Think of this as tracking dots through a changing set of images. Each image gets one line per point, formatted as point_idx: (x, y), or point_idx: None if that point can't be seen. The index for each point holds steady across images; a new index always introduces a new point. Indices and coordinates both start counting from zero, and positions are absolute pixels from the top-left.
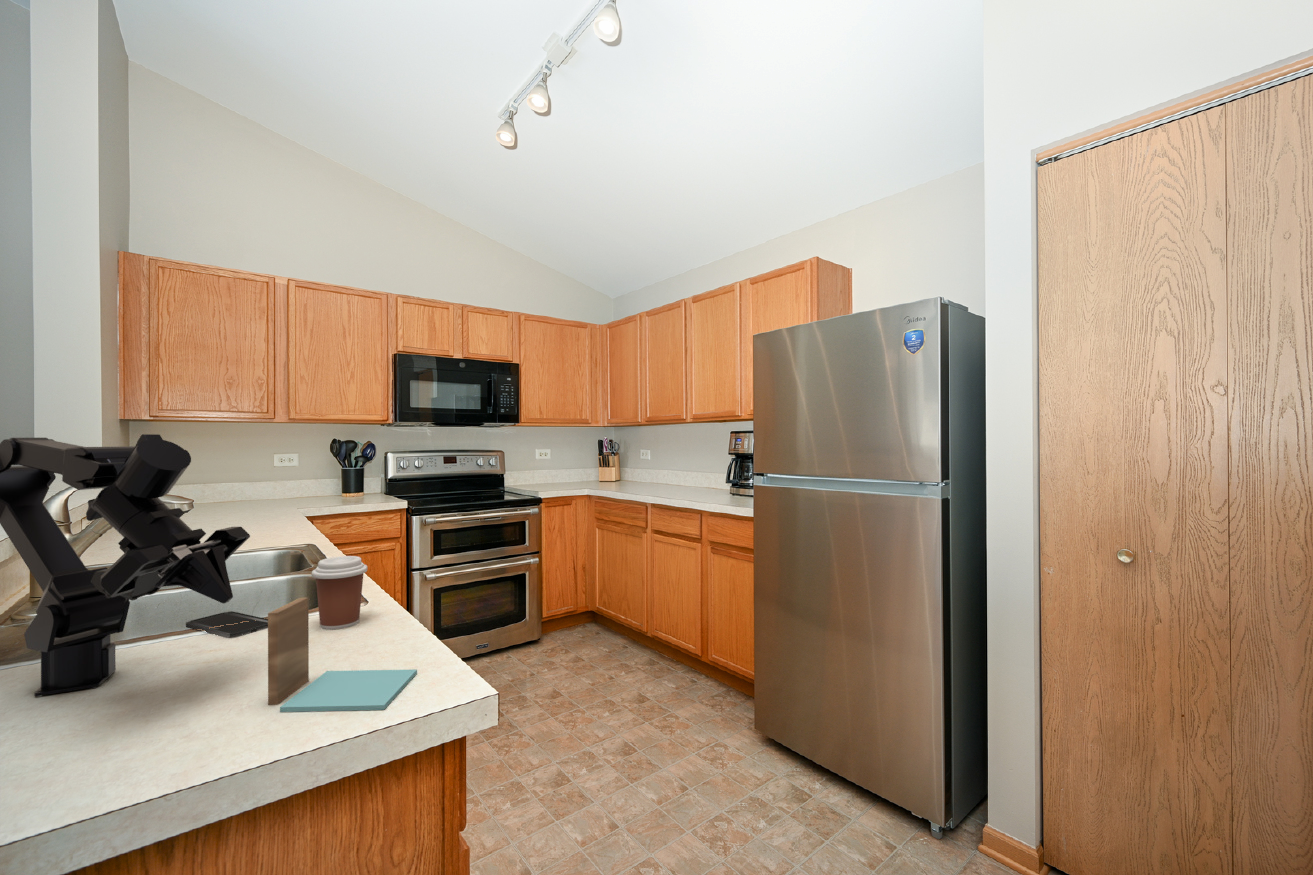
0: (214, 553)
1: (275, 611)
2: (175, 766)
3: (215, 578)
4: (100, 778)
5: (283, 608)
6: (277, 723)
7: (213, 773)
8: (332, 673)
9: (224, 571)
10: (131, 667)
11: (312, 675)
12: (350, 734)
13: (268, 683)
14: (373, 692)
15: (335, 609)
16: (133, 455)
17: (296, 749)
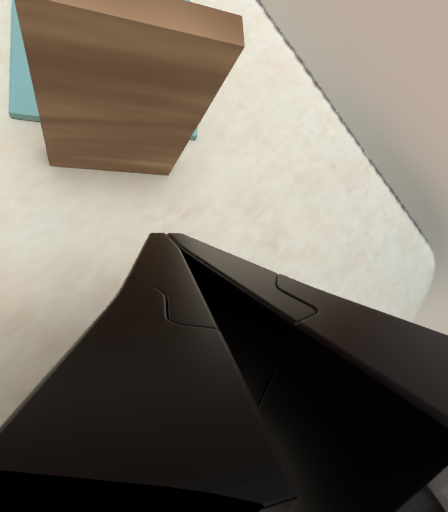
0: (242, 400)
1: (224, 28)
2: (336, 200)
3: (256, 270)
4: (363, 274)
5: (187, 13)
6: (231, 126)
7: (343, 144)
8: (29, 94)
9: (158, 280)
10: None
11: (10, 152)
12: (256, 12)
13: (178, 156)
14: None
15: None
16: None
17: (293, 70)
